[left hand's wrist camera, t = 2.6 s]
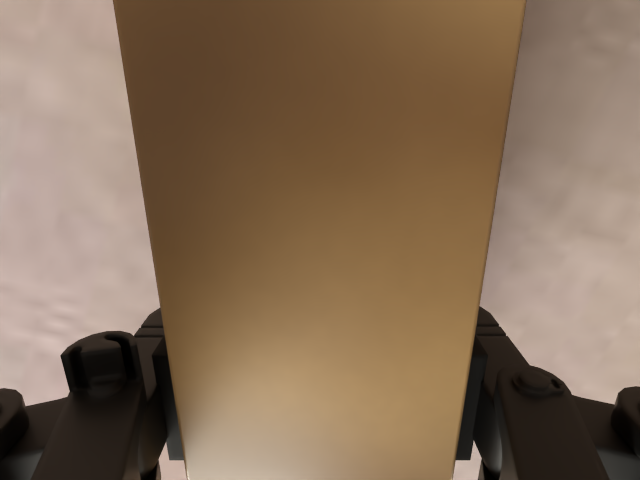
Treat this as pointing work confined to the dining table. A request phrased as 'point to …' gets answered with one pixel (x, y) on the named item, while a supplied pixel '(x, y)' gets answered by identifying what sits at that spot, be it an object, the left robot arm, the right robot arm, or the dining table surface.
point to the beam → (319, 222)
